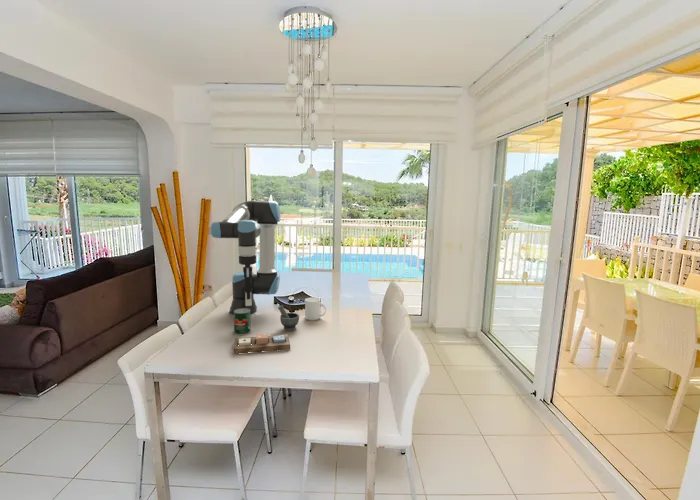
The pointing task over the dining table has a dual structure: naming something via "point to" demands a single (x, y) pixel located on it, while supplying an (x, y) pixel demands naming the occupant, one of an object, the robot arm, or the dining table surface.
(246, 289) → the robot arm
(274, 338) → the button block
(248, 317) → the canned tomato
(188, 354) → the dining table surface
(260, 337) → the button block
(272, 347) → the button board
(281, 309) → the mortar and pestle
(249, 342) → the button block
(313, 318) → the mug
